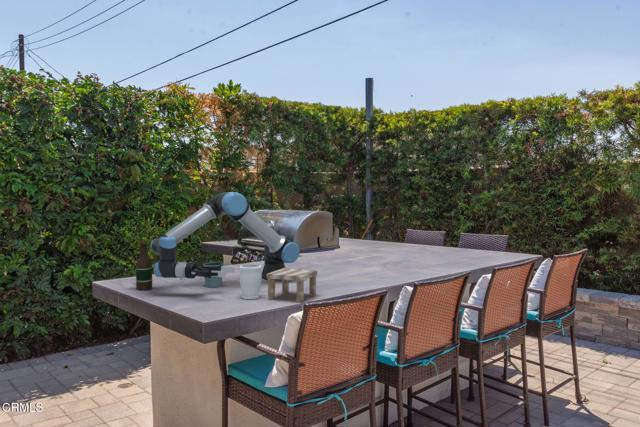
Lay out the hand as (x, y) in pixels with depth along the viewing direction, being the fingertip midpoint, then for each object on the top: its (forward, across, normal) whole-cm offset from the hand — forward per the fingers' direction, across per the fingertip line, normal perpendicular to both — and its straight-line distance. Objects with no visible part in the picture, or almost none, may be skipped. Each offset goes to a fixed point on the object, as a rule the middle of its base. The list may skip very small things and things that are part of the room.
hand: (229, 271), depth 230 cm
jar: (+10, 0, -12) cm, 16 cm away
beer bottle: (-49, -12, -13) cm, 52 cm away
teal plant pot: (-17, -24, -12) cm, 32 cm away
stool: (+30, -3, -12) cm, 32 cm away
